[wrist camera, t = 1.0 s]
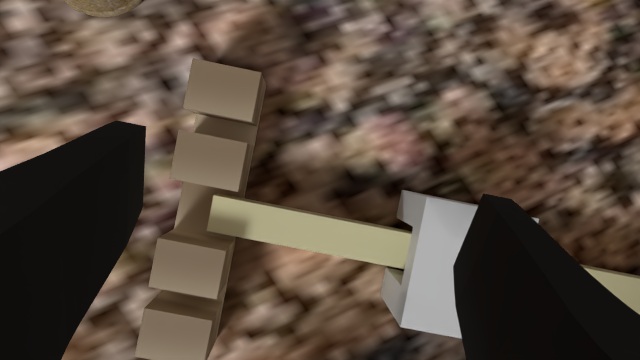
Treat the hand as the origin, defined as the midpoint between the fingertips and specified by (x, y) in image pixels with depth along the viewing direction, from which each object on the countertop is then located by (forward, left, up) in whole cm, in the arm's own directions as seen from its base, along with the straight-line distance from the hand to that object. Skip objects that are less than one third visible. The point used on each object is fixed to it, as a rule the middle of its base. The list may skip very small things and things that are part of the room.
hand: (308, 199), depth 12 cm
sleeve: (-2, -6, -12) cm, 14 cm away
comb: (-2, +3, -12) cm, 13 cm away
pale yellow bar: (-2, -8, -12) cm, 15 cm away
